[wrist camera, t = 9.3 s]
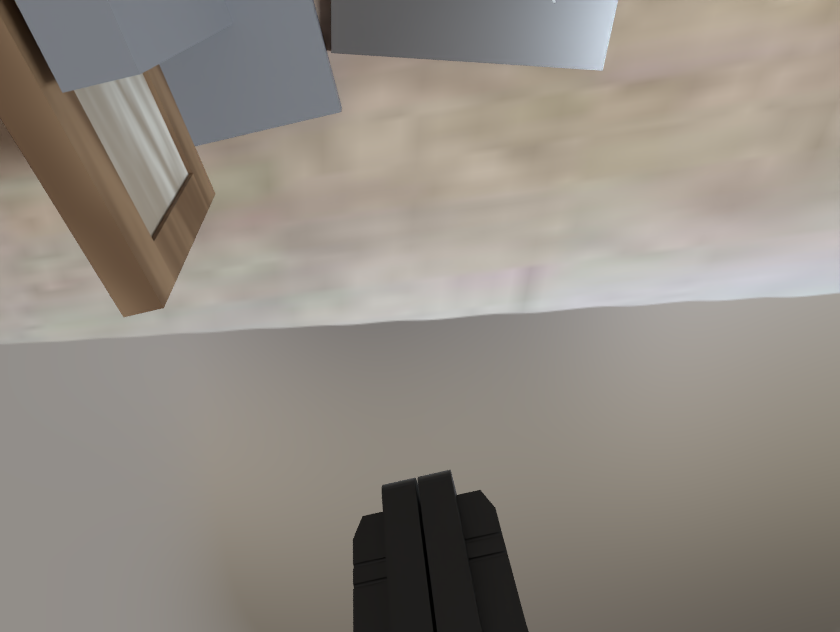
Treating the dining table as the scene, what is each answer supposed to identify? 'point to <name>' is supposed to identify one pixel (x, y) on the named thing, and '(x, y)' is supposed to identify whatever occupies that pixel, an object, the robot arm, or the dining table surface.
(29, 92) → the picture frame
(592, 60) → the play button award
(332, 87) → the display stand
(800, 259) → the dining table surface
